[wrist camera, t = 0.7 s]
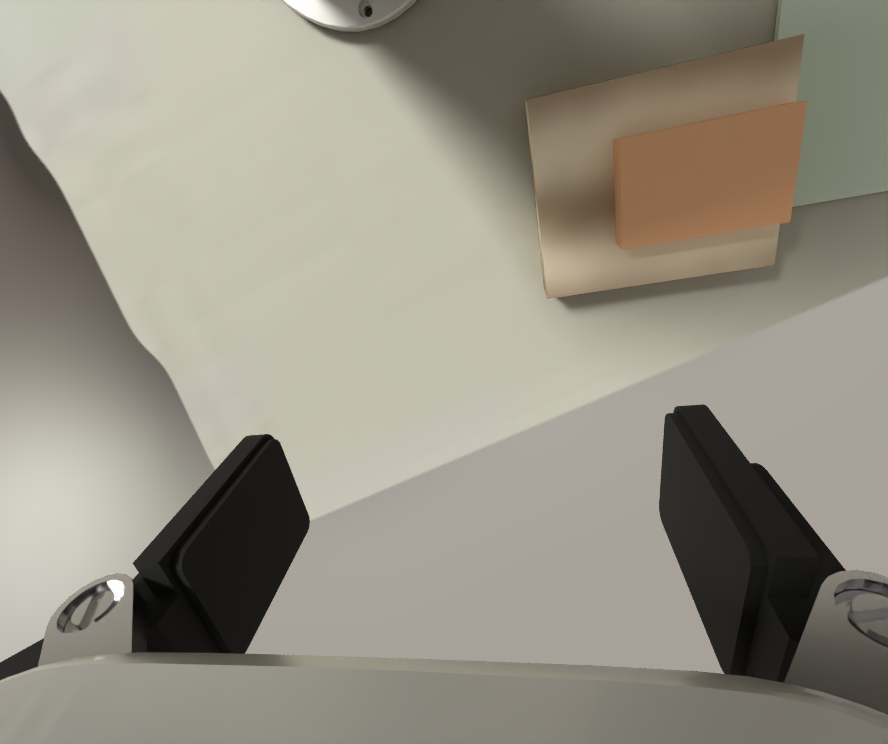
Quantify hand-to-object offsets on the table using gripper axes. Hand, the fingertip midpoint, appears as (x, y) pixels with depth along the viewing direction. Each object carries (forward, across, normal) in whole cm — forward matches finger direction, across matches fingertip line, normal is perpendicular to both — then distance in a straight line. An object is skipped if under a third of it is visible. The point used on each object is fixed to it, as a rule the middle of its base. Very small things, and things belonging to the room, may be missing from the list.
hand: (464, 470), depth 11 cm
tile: (+22, -12, -3) cm, 25 cm away
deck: (+25, -10, -3) cm, 27 cm away
